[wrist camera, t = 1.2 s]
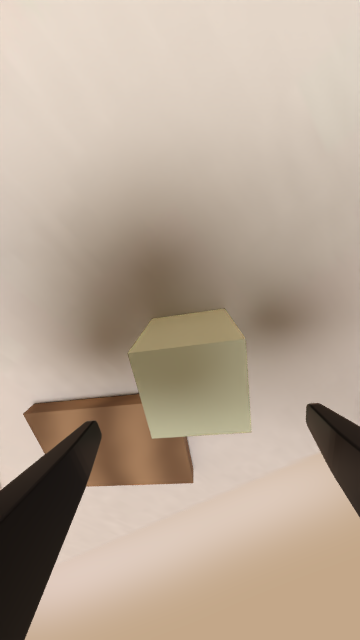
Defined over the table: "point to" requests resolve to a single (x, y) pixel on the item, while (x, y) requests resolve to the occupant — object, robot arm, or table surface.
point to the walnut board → (115, 440)
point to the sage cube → (192, 375)
